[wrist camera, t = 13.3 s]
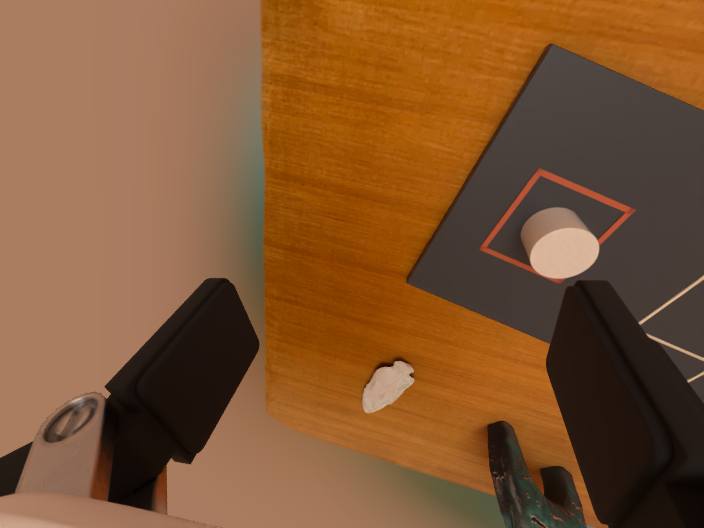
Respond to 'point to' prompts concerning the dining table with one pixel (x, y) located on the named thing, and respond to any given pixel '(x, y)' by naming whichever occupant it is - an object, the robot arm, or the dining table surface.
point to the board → (584, 207)
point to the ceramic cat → (530, 487)
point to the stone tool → (387, 386)
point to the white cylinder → (559, 243)
